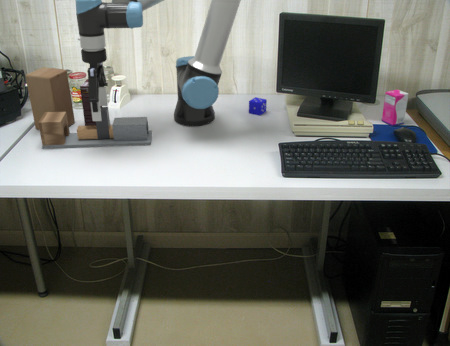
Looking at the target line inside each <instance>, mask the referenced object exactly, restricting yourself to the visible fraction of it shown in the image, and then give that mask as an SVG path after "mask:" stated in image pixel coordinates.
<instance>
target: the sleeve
mask: <svg viewBox="0 0 450 346" xmlns="http://www.w3.org/2000/svg"><path fill="white" fill-rule="evenodd" d="M148 119H149V118H148V116H135V117H134V116H128V117H127V116H126V117H114V119H113V121H112V124H111V125H112V128H113V136H114V141H145V140H148V137H147V134H149V130H150V129H149V120H148Z"/></svg>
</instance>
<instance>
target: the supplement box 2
mask: <svg viewBox="0 0 450 346" xmlns="http://www.w3.org/2000/svg"><path fill="white" fill-rule="evenodd" d="M408 98H409V93H408V92H405V91H403V90H399V89H392V90H389V91H385V94H384V101H383V108H382V117H381V122H383V123H385V124H387V125H388V126H391V127H395V126H398V125H399V126H400V125H404V124H405V119H406V112H407V111H406V110H407V106H408Z"/></svg>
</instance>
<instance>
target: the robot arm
mask: <svg viewBox="0 0 450 346" xmlns="http://www.w3.org/2000/svg"><path fill="white" fill-rule="evenodd" d="M164 1H165V0H111V2H104V1H102V0H75V12H76V22H77V30H78V35H79V36H78V37H77V40H78V41H80V43H79V44H80V48H81V50H80V53H81V61H82V62H83V63H84V64H88V65H89V67H88V69H87V70H86V71H87V79H88V89H89V100H87V101H88V102H90V103H91V111H92V120H93V121H102V118H101V109H100V106H102V107H108V97H107V87H108V86H109V85H108V82H107V78H106V73H105V67H104V64H103V63H104V62H106V61H107V59H108V57H107V49H106V46H107V43H106V36H105V29H131V30H132V29H135V28H139V29H140V28H142V27H143V25H144V16H143V14H144V13H143V12H144V11H147V10H148V9H150V8H152V7H154V6H155V5H158V4H160V3H162V2H164ZM241 1H242V0H211V2H210V4H209V7H208V8H209V9H208V11H207V14H206V18H205V21H204V25H203V27H202V32H201V34H200V38H199V41H198V44H197V46H196V47H197V48H196V51H195V54H194V55H193V56H192V55H191V56H190V55H189V56H182V57H179V58H177V59H176V62H175V63H176V64H175V68H176V88H177V102H176V105H175V108H174V113H173V121H174V122H175V123H176V124H179V125H181V126H186V127H200V126H206V125H209V124H212V123H213V122H214V121H215V119H216V115H215V110H214V107H213V105H214V104H215V103H216V101H217V100H218V98H219V92H220V91H219V89H220V88H219V84H220V80H221V77H222V74H223V70H222V69H221V67H220V66H221V63H222V60H223V56H224V52H225V50H226V47H227V43H228V40H229V38H230V34H231V31H232V28H233V25H234V24H235V23H234V22H235V19H236V16H237V13H238V9H239V7H240V3H241Z"/></svg>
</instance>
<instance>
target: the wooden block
mask: <svg viewBox="0 0 450 346" xmlns="http://www.w3.org/2000/svg"><path fill="white" fill-rule="evenodd" d="M25 81H26V87H27V91H28V97H29V101H30V106H31V111H32V112H31V113H32V116H33V122H34V127H35V130H39V125H38V122H39V121H40V119H41V118H42V116H43V115H44V113H45V112H66V113H67V119H68V125H69V127H70V126H72V125H74V124H75V123H76V120H75V119H76V118H75V115H74V107H73V102H72V94H71V87H70V83H69V75H68V70H67V69H64V68H55V67H46V66H43V67H40V68H38V69H36V70H34V71H31V72H29V73H27V74H25Z"/></svg>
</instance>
